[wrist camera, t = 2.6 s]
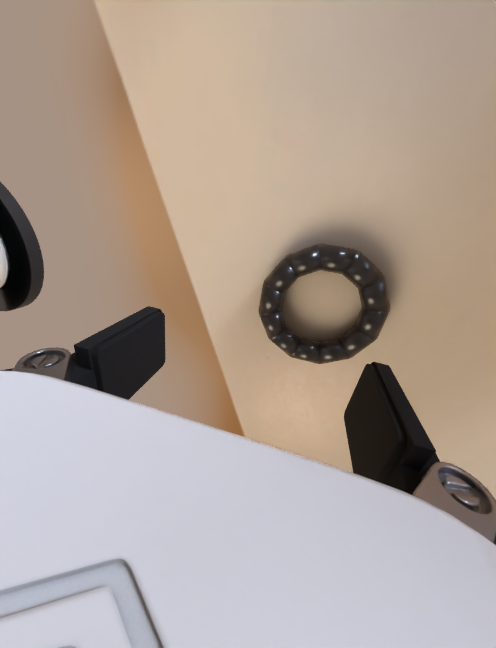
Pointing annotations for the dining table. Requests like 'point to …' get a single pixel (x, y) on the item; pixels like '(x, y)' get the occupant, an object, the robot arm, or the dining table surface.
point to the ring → (335, 261)
